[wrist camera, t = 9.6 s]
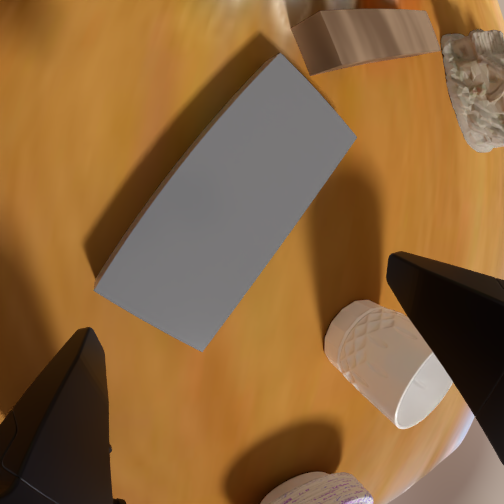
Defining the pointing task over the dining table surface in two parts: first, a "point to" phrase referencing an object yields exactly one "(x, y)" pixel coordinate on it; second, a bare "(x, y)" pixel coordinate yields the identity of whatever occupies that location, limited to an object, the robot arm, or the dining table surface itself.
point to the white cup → (387, 361)
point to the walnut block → (362, 37)
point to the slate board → (227, 206)
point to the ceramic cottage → (477, 85)
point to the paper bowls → (320, 490)
